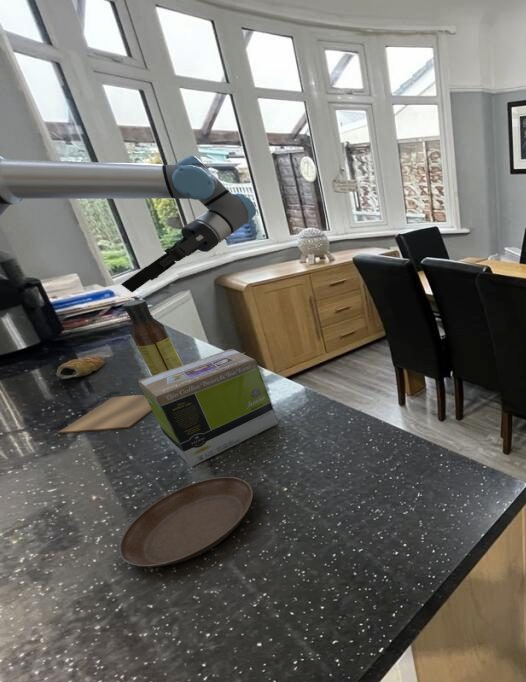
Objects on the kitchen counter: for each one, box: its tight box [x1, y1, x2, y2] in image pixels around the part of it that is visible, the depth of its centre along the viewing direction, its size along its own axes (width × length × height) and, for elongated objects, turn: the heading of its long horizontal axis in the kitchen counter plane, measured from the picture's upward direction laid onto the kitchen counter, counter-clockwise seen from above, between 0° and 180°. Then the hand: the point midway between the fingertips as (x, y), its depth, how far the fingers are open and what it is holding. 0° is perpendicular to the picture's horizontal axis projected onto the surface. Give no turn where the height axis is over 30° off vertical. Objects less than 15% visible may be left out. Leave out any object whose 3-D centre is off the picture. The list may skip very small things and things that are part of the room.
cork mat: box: [58, 394, 153, 434], centre depth 84 cm, size 13×13×1 cm
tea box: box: [137, 348, 279, 468], centre depth 72 cm, size 15×10×15 cm, turn 145°
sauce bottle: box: [122, 299, 184, 376], centre depth 93 cm, size 6×6×20 cm
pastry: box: [55, 355, 106, 380], centre depth 102 cm, size 9×7×4 cm
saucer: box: [118, 476, 254, 568], centre depth 55 cm, size 15×15×3 cm
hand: (136, 282), depth 92 cm, fingers open, 13 cm apart
